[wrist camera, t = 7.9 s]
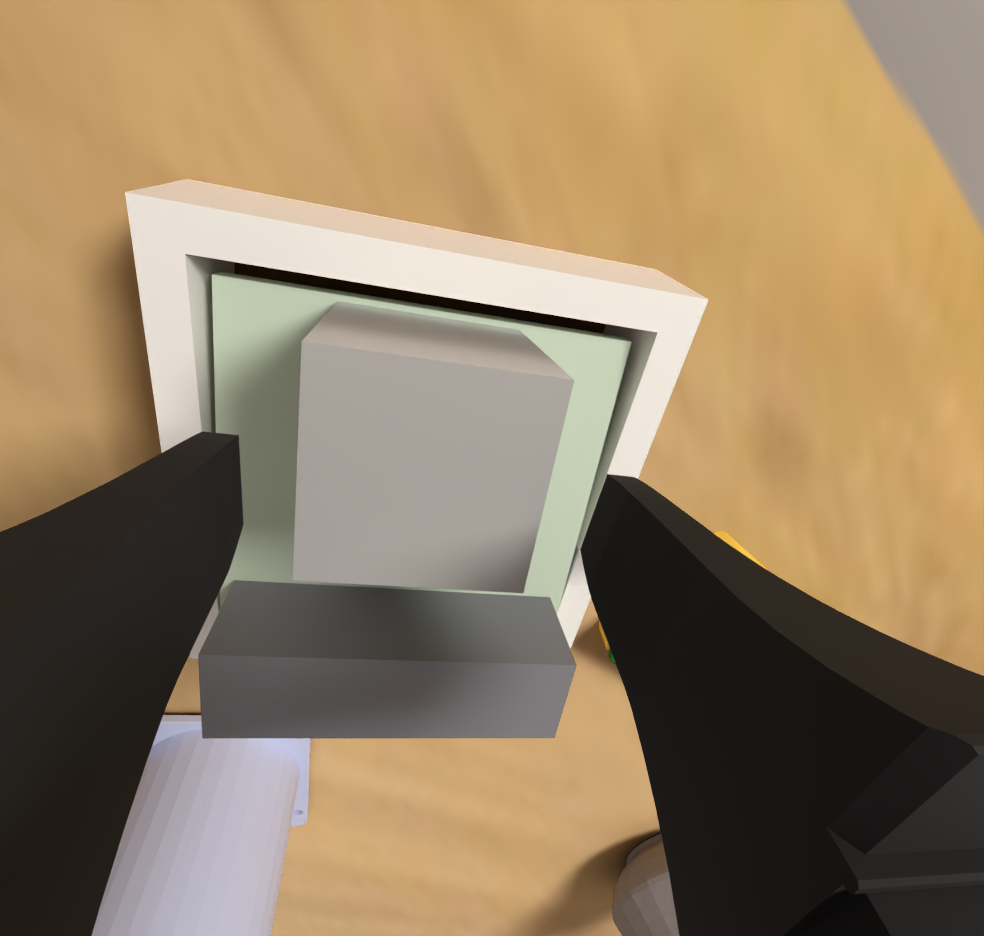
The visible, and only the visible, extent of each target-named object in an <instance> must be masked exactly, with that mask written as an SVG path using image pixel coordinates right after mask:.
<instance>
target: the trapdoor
mask: <svg viewBox="0 0 984 936" xmlns="http://www.w3.org/2000/svg"><path fill="white" fill-rule="evenodd" d="M338 301H342V302H348V303H354V304H360V305H367V306H373V307H379V308H386V309H392V310H398V311H404V312H411V313H417V314H423V315H430V316H436V317H442V318H448V319H455V320H461V321H467V322H474V323H480V324H486V325H492V326H499V327H505V328H511V329H518V330H520V331H521V332H522V333H523V334H524V335H525V336H527V337H528V338H529V339H530V340H531V341H532V342H533V343H534V344H535V345H536V346H538V347H539V348H540V349H541V350H542V351H543V352H544V353H545V354H546V355H547V356H549V357H550V358H551V359H552V360H553V361H554V362H555V363H556V364H557V365H558V366H559V367H561V368H562V369H563V370H564V371H565V372H566V373H567V374H568V375H569V376H570V377H572V378H573V379H574V384H573V388H572V392H571V396H570V401H569V405H568V409H567V413H566V417H565V421H564V426H563V430H562V434H561V438H560V442H559V446H558V451H557V455H556V459H555V463H554V467H553V472H552V476H551V480H550V484H549V488H548V492H547V497H546V501H545V505H544V509H543V513H542V517H541V522H540V526H539V530H538V534H537V538H536V543H535V547H534V551H533V555H532V559H531V563H530V568H529V572H528V576H527V580H526V584H525V589H524V593H507V592H489V591H471V590H453V589H435V588H417V587H399V586H381V585H363V584H345V583H327V582H309V581H293V558H294V531H295V505H296V478H297V451H298V424H299V398H300V371H301V344H302V340H303V339H304V338H305V337H306V336H307V335H308V334H309V333H310V331H311V330H312V329H313V328H314V327H315V326H316V325H317V324H318V323H319V322H320V321H321V319H322V318H323V317H324V316H325V315H326V314H327V313H328V312H329V311H330V310H331V308H332V307H333V306H334V305H335V304H336V303H337V302H338ZM212 306H213V344H214V382H215V420H216V433H223V434H232V435H239V449H240V467H241V486H242V505H243V523H244V525H243V528H242V531H241V535H240V538H239V541H238V545H237V548H236V551H235V554H234V557H233V560H232V564H231V567H230V570H229V572H228V574H227V576H226V579H225V581H224V583H223V585H222V587H221V589H220V611H219V613H218V615H217V617H216V619H215V621H214V623H213V625H212V628H211V630H210V632H209V634H208V636H207V638H206V640H205V642H204V644H203V646H202V648H201V650H200V652H199V654H198V660H199V681H200V702H201V723H202V739H208V738H554V737H555V734H556V731H557V728H558V724H559V721H560V718H561V714H562V711H563V708H564V705H565V701H566V698H567V695H568V691H569V688H570V685H571V682H572V678H573V675H574V672H575V669H576V663H575V660H574V658H573V655H572V653H571V650H570V647H569V645H568V642H567V640H566V637H565V634H564V632H563V629H562V627H561V624H560V622H559V619H558V616H557V613H558V609H559V606H560V602H561V598H562V595H563V591H564V587H565V584H566V580H567V576H568V573H569V569H570V565H571V562H572V558H573V554H574V551H575V547H576V544H577V540H578V536H579V533H580V529H581V525H582V522H583V518H584V514H585V511H586V507H587V503H588V500H589V496H590V492H591V489H592V485H593V481H594V478H595V474H596V470H597V467H598V463H599V459H600V456H601V452H602V448H603V445H604V441H605V437H606V434H607V430H608V427H609V423H610V419H611V416H612V412H613V408H614V405H615V401H616V397H617V394H618V390H619V386H620V383H621V379H622V375H623V372H624V368H625V364H626V361H627V357H628V353H629V350H630V346H631V341H629V340H627V339H625V338H623V337H621V336H615V335H609V334H603V333H597V332H590V331H584V330H578V329H572V328H566V327H560V326H554V325H547V324H541V323H535V322H529V321H523V320H517V319H510V318H504V317H498V316H492V315H486V314H480V313H474V312H467V311H461V310H455V309H449V308H443V307H437V306H430V305H424V304H418V303H412V302H406V301H400V300H394V299H387V298H381V297H375V296H369V295H363V294H357V293H350V292H344V291H338V290H332V289H326V288H320V287H314V286H307V285H301V284H295V283H289V282H283V281H277V280H270V279H264V278H258V277H252V276H246V275H240V274H234V273H227V272H219V273H215V274H212Z"/></svg>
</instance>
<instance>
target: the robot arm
mask: <svg viewBox="0 0 984 936" xmlns="http://www.w3.org/2000/svg"><path fill="white" fill-rule="evenodd" d="M243 525H244V523H243V505H242V486H241V467H240V449H239V435H232V434H223V433H213V432H204V431H202V432H200V433H198V434H196V435H194V436H192V437H190V438H188V439H186V440H184V441H182V442H181V443H179V444H177V445H175V446H173V447H172V448H170V449H168V450H166V451H165V452H163V453H161V454H159V455H157V456H156V457H154V458H152V459H150V460H148V461H147V462H145V463H143V464H141V465H139V466H137V467H136V468H134V469H132V470H130V471H128V472H127V473H125V474H123V475H121V476H119V477H117V478H116V479H114V480H112V481H110V482H108V483H106V484H104V485H102V486H100V487H98V488H96V489H94V490H92V491H90V492H88V493H85V494H83V495H81V496H79V497H77V498H75V499H73V500H71V501H69V502H67V503H65V504H63V505H61V506H59V507H57V508H55V509H53V510H51V511H49V512H46V513H44V514H42V515H40V516H38V517H35V518H33V519H31V520H28V521H26V522H24V523H21V524H19V525H17V526H14V527H12V528H9V529H7V530H4V531H2V532H0V936H271V931H272V926H273V920H274V915H275V909H276V904H277V898H278V893H279V887H280V882H281V876H282V871H283V865H284V859H285V854H286V848H287V843H288V837H289V832H290V826H301V825H304V824H305V823H306V822H307V819H308V804H309V775H310V747H311V738H208V739H202V723H201V715H163V714H164V712H165V709H166V706H167V703H168V701H169V698H170V696H171V694H172V691H173V689H174V687H175V684H176V682H177V679H178V677H179V675H180V673H181V671H182V669H183V667H184V665H185V662H186V660H187V658H188V656H189V654H190V652H191V650H192V648H193V646H194V644H195V642H196V640H197V637H198V635H199V633H200V631H201V629H202V627H203V625H204V623H205V621H206V619H207V617H208V615H209V612H210V610H211V608H212V606H213V604H214V602H215V600H216V598H217V596H218V593H219V591H220V589H221V587H222V585H223V583H224V581H225V579H226V576H227V574H228V572H229V570H230V567H231V564H232V560H233V557H234V554H235V551H236V548H237V545H238V541H239V538H240V535H241V531H242V528H243ZM580 551H581V556H582V561H583V567H584V572H585V576H586V580H587V585H588V589H589V592H590V595H591V598H592V601H593V604H594V607H595V609H596V612H597V615H598V617H599V620H600V623H601V626H602V628H603V631H604V634H605V636H606V639H607V641H608V644H609V647H610V649H611V652H612V655H613V657H614V660H615V663H616V665H617V668H618V671H619V673H620V676H621V679H622V681H623V684H624V687H625V690H626V693H627V696H628V699H629V702H630V705H631V708H632V712H633V716H634V720H635V723H636V727H637V731H638V735H639V739H640V743H641V746H642V750H643V754H644V758H645V763H646V767H647V771H648V776H649V780H650V784H651V789H652V793H653V797H654V801H655V806H656V810H657V815H658V820H659V825H660V831H661V836H662V841H663V846H664V851H665V856H666V861H667V866H668V871H669V876H670V882H671V888H672V894H673V900H674V906H675V912H676V918H677V924H678V930H679V936H984V676H982V675H979V674H977V673H974V672H971V671H969V670H966V669H964V668H961V667H959V666H956V665H954V664H952V663H949V662H947V661H944V660H942V659H940V658H937V657H935V656H933V655H930V654H928V653H926V652H923V651H921V650H919V649H916V648H914V647H912V646H909V645H907V644H905V643H903V642H901V641H899V640H896V639H894V638H892V637H890V636H888V635H885V634H883V633H881V632H879V631H877V630H875V629H873V628H871V627H869V626H867V625H865V624H863V623H861V622H859V621H857V620H855V619H853V618H851V617H849V616H847V615H845V614H843V613H841V612H839V611H837V610H835V609H833V608H832V607H830V606H828V605H826V604H824V603H822V602H820V601H819V600H817V599H815V598H813V597H811V596H810V595H808V594H806V593H805V592H803V591H801V590H799V589H798V588H796V587H794V586H793V585H791V584H789V583H787V582H786V581H784V580H782V579H781V578H779V577H777V576H776V575H774V574H773V573H771V572H769V571H768V570H766V569H765V568H763V567H762V566H760V565H759V564H757V563H756V562H754V561H753V560H751V559H750V558H748V557H747V556H745V555H744V554H742V553H741V552H739V551H738V550H736V549H735V548H733V547H732V546H730V545H729V544H728V543H726V542H725V541H723V540H722V539H721V538H719V537H718V536H716V535H715V534H714V533H712V532H711V531H710V530H708V529H707V528H705V527H704V526H703V525H701V524H700V523H699V522H697V521H696V520H695V519H693V518H692V517H691V516H689V515H688V514H687V513H685V512H684V511H683V510H681V509H680V508H679V507H677V506H676V505H675V504H673V503H672V502H671V501H669V500H668V499H667V498H665V497H664V496H662V495H661V494H660V493H658V492H657V491H655V490H654V489H653V488H651V487H650V486H648V485H647V484H645V483H644V482H642V481H640V480H639V479H637V478H635V477H630V476H620V475H611V474H607V476H606V479H605V482H604V484H603V487H602V490H601V493H600V495H599V498H598V501H597V504H596V507H595V509H594V512H593V515H592V518H591V521H590V523H589V526H588V529H587V532H586V535H585V537H584V540H583V543H582V546H581V548H580Z"/></svg>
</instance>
